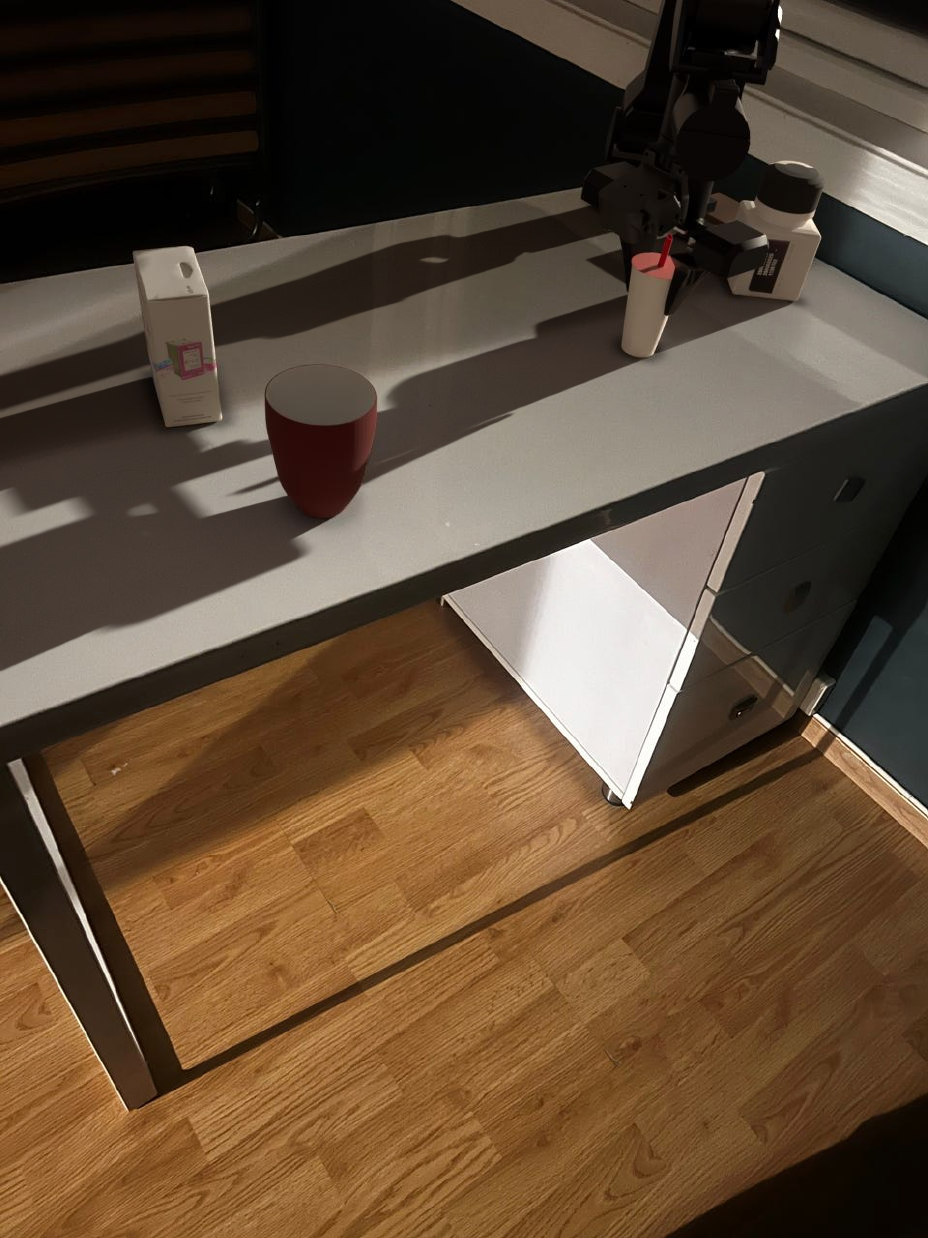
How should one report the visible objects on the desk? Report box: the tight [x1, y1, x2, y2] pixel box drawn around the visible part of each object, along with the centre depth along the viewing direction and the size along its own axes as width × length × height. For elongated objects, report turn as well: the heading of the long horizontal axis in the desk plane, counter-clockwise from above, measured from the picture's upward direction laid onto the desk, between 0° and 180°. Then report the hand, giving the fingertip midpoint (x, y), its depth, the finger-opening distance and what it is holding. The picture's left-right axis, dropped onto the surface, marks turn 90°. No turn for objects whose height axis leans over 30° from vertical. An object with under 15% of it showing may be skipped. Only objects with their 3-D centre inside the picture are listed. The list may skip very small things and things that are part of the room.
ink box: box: [132, 245, 223, 428], centre depth 81 cm, size 9×5×12 cm, turn 21°
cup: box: [621, 232, 675, 358], centre depth 95 cm, size 5×5×12 cm
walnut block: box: [675, 192, 740, 242], centre depth 119 cm, size 6×6×4 cm
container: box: [726, 160, 826, 302], centre depth 109 cm, size 8×8×13 cm
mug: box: [264, 363, 378, 519], centre depth 74 cm, size 10×8×10 cm
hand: (649, 302), depth 96 cm, fingers closed on cup, 5 cm apart
